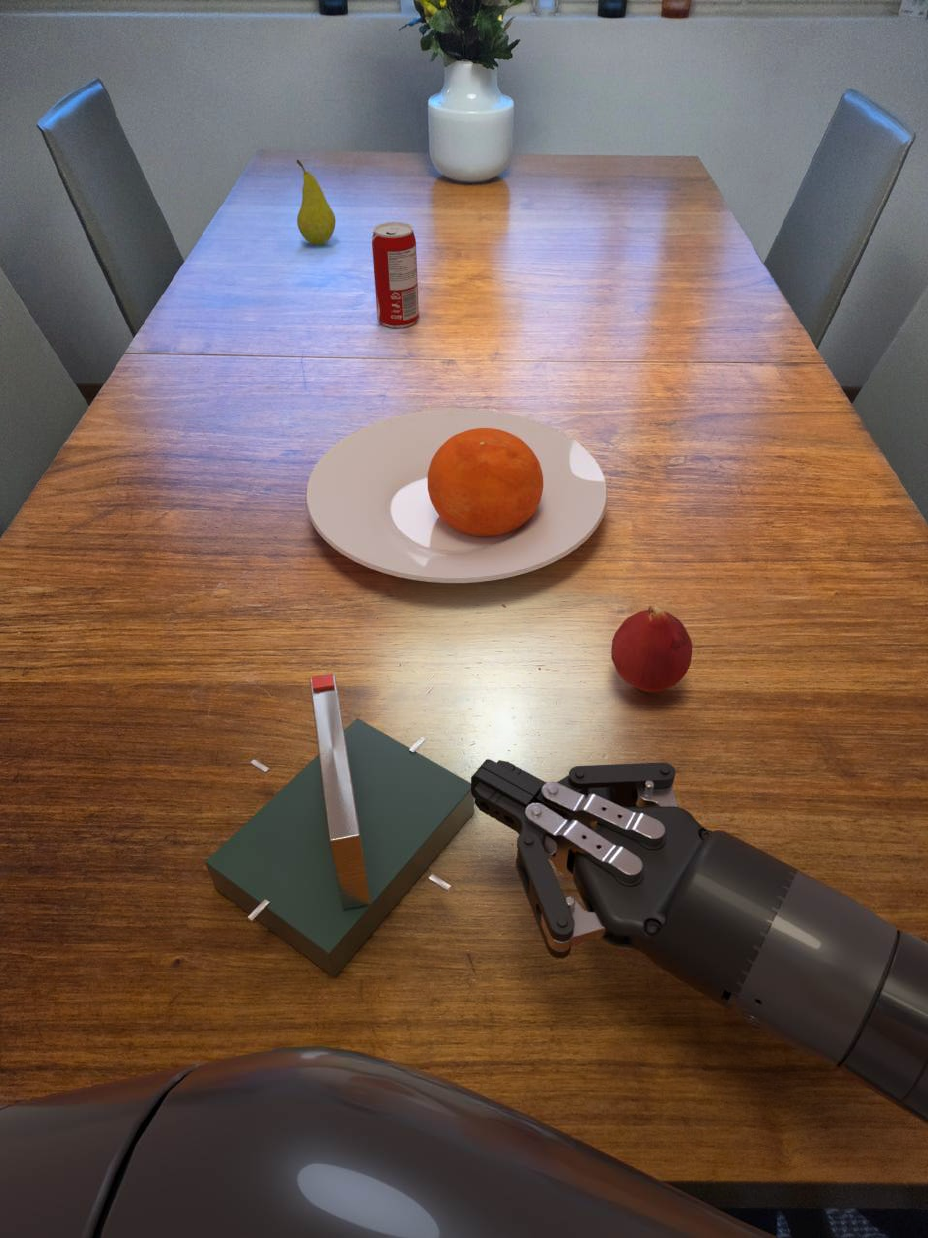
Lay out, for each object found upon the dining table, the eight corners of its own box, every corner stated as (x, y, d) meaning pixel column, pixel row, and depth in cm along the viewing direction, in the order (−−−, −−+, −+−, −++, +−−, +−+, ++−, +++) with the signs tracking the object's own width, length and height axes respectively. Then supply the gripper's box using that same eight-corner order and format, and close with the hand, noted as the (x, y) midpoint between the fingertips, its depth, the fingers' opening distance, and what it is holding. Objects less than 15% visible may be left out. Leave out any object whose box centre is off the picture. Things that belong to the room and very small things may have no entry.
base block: (363, 1027, 48) (358, 1001, 46) (167, 875, 55) (155, 847, 53) (522, 823, 58) (524, 794, 56) (338, 716, 65) (334, 687, 63)
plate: (247, 530, 82) (230, 451, 76) (434, 410, 98) (431, 337, 92) (489, 658, 69) (490, 574, 63) (657, 496, 86) (670, 418, 80)
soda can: (388, 309, 119) (382, 216, 111) (425, 315, 117) (422, 221, 109) (370, 325, 115) (363, 230, 107) (408, 331, 113) (404, 236, 105)
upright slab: (370, 905, 50) (360, 832, 45) (343, 910, 50) (329, 838, 45) (345, 745, 59) (334, 670, 54) (322, 749, 59) (308, 674, 54)
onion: (668, 655, 69) (685, 577, 64) (694, 708, 65) (714, 630, 60) (597, 664, 69) (608, 586, 63) (619, 719, 64) (633, 640, 59)
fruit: (340, 248, 136) (332, 164, 128) (303, 252, 135) (292, 167, 126) (334, 235, 140) (325, 153, 132) (297, 239, 139) (286, 156, 131)
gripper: (837, 804, 44) (542, 663, 51) (733, 1023, 36) (402, 818, 43) (799, 884, 49) (535, 745, 56) (701, 1091, 41) (409, 897, 48)
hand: (478, 777), depth 50 cm, fingers closed
